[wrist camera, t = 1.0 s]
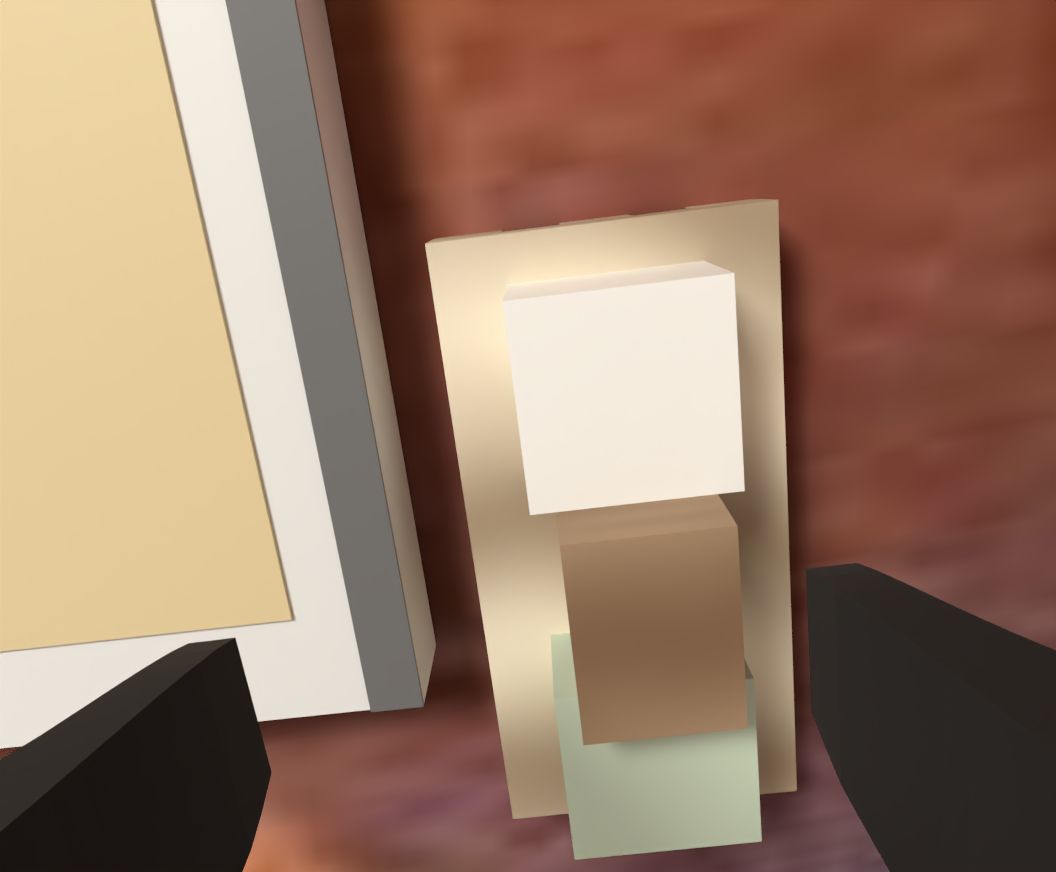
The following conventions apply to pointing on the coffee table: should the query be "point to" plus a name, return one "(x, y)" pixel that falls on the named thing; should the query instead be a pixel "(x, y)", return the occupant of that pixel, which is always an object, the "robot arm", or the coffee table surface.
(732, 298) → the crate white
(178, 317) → the dock
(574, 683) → the block
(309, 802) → the coffee table surface
